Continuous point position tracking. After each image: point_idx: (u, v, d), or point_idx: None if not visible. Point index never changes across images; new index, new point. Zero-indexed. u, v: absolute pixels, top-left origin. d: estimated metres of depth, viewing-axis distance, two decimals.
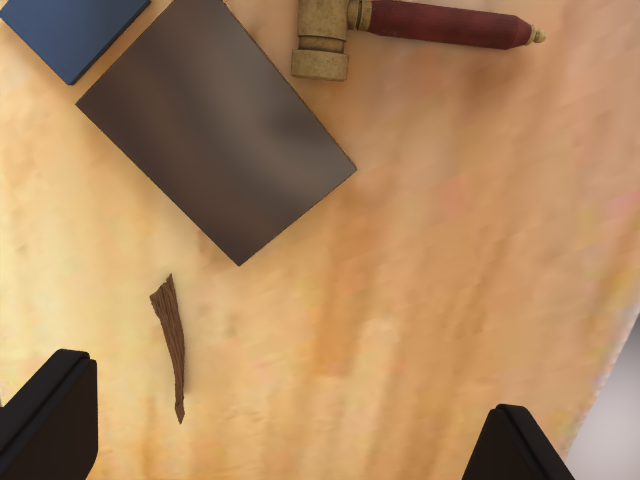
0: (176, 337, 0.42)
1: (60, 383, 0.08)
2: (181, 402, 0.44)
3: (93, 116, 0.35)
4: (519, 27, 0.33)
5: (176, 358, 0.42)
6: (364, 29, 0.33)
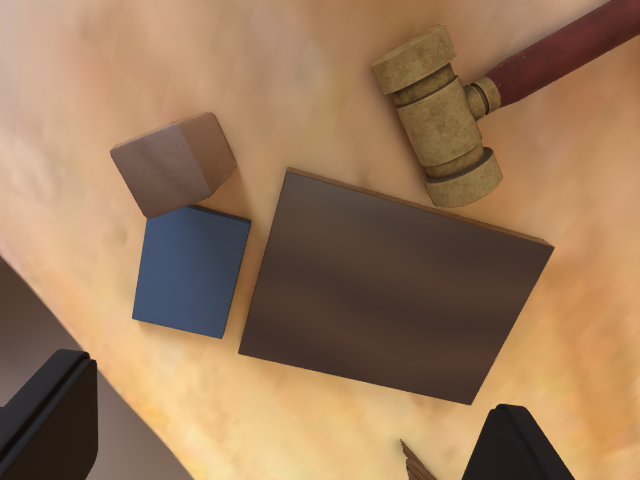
0: None
1: (60, 383, 0.08)
2: None
3: (259, 354, 0.32)
4: None
5: None
6: None
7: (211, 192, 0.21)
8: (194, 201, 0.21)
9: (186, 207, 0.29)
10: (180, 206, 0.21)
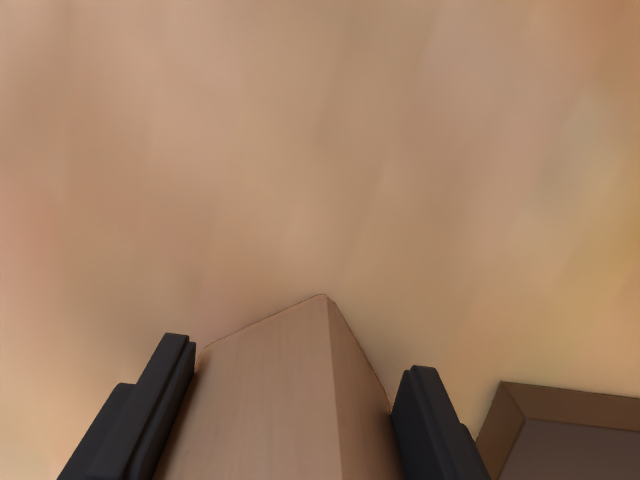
0: None
1: (176, 361, 0.09)
2: None
3: None
4: None
5: None
6: None
7: None
8: None
9: None
10: None
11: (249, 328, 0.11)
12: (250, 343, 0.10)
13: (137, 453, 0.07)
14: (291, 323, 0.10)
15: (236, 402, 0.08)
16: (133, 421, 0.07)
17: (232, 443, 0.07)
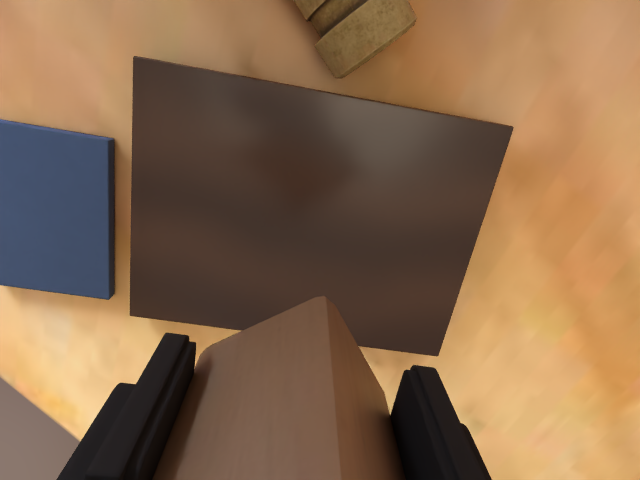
0: None
1: (176, 361, 0.09)
2: None
3: (156, 313, 0.25)
4: None
5: None
6: None
7: None
8: None
9: (22, 126, 0.22)
10: None
11: (249, 330, 0.11)
12: (250, 345, 0.10)
13: (137, 453, 0.07)
14: (291, 325, 0.10)
15: (236, 404, 0.08)
16: (133, 421, 0.07)
17: (232, 445, 0.07)
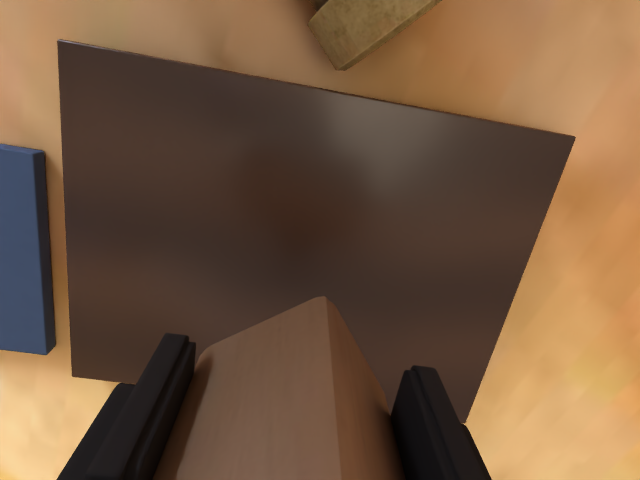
0: None
1: (176, 361, 0.09)
2: None
3: (106, 374, 0.20)
4: None
5: None
6: None
7: None
8: None
9: None
10: None
11: (249, 330, 0.11)
12: (250, 345, 0.10)
13: (137, 453, 0.07)
14: (291, 325, 0.10)
15: (236, 404, 0.08)
16: (133, 422, 0.07)
17: (232, 446, 0.07)
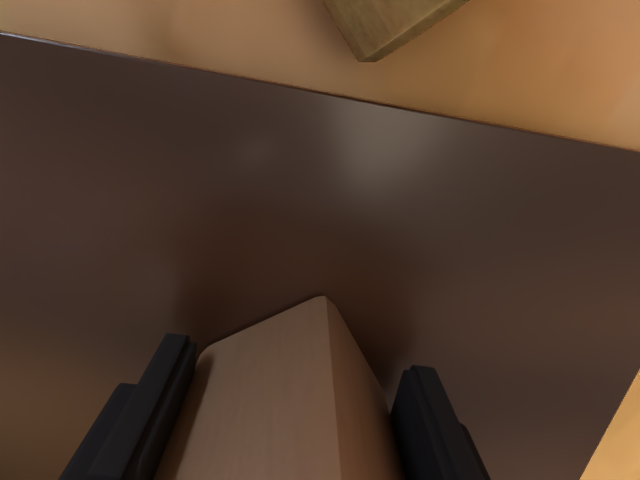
0: None
1: (177, 361, 0.09)
2: None
3: None
4: None
5: None
6: None
7: None
8: None
9: None
10: None
11: (249, 329, 0.11)
12: (250, 345, 0.10)
13: (138, 453, 0.07)
14: (291, 325, 0.10)
15: (236, 404, 0.08)
16: (134, 421, 0.07)
17: (232, 445, 0.07)
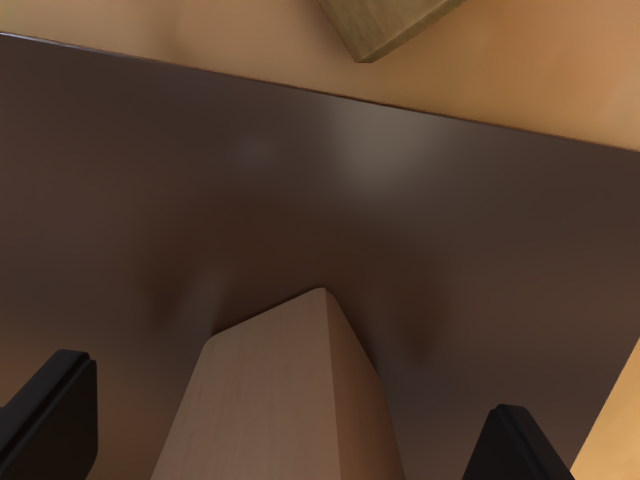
0: None
1: (60, 383, 0.08)
2: None
3: None
4: None
5: None
6: None
7: None
8: None
9: None
10: None
11: (251, 320, 0.11)
12: (252, 333, 0.10)
13: None
14: (291, 314, 0.10)
15: (240, 387, 0.09)
16: None
17: (236, 424, 0.08)
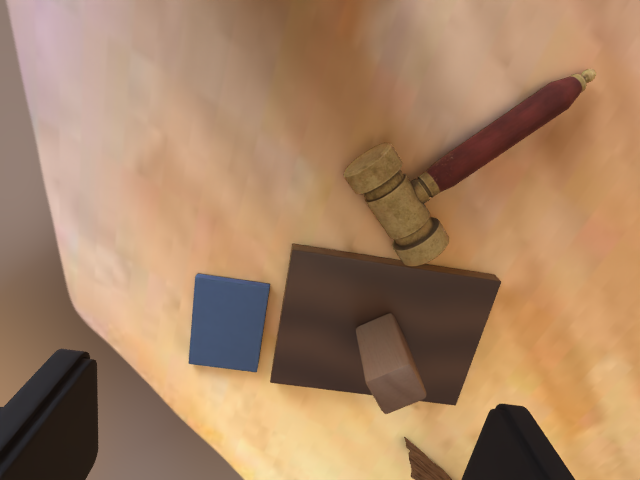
0: None
1: (60, 383, 0.08)
2: None
3: (286, 381, 0.42)
4: (567, 91, 0.32)
5: None
6: (437, 193, 0.35)
7: None
8: (415, 401, 0.34)
9: (221, 280, 0.39)
10: (406, 405, 0.34)
11: (370, 322, 0.39)
12: (373, 326, 0.39)
13: None
14: (383, 321, 0.39)
15: (376, 338, 0.37)
16: None
17: (379, 344, 0.36)
